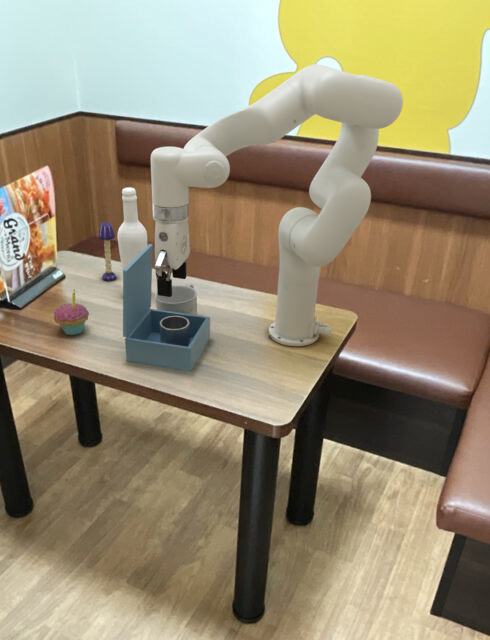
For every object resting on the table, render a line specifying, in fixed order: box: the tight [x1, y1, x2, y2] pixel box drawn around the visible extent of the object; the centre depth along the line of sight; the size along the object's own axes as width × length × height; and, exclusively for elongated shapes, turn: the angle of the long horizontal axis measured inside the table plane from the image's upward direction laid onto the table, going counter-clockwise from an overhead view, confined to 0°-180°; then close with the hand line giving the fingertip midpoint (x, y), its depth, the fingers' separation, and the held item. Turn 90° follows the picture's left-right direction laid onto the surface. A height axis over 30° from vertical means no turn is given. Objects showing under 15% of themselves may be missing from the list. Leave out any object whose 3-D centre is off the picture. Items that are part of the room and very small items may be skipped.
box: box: [124, 308, 211, 373], centre depth 144 cm, size 16×16×7 cm
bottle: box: [117, 186, 148, 295], centre depth 162 cm, size 8×8×30 cm
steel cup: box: [160, 316, 190, 347], centre depth 143 cm, size 7×7×8 cm
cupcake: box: [53, 288, 90, 336], centre depth 151 cm, size 9×8×12 cm
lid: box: [122, 243, 154, 338], centre depth 138 cm, size 16×16×1 cm
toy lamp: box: [98, 221, 118, 282], centre depth 176 cm, size 5×5×17 cm
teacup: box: [154, 282, 198, 315], centre depth 157 cm, size 14×11×8 cm
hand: (172, 286), depth 135 cm, fingers open, 9 cm apart
